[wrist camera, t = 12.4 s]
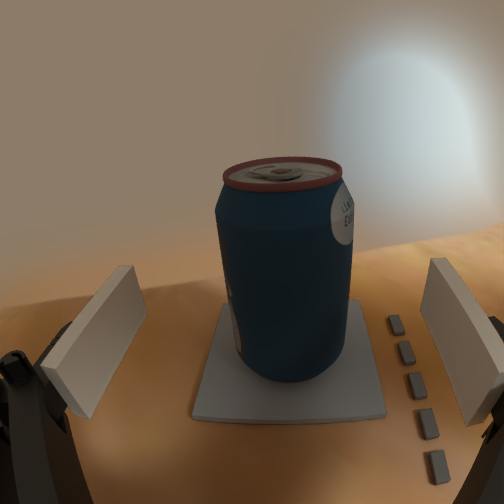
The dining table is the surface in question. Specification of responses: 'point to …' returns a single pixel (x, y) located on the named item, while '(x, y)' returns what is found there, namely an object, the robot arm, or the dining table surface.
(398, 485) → the dining table surface
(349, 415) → the slate pad
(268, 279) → the soda can
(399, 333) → the perforation line
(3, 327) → the dining table surface
